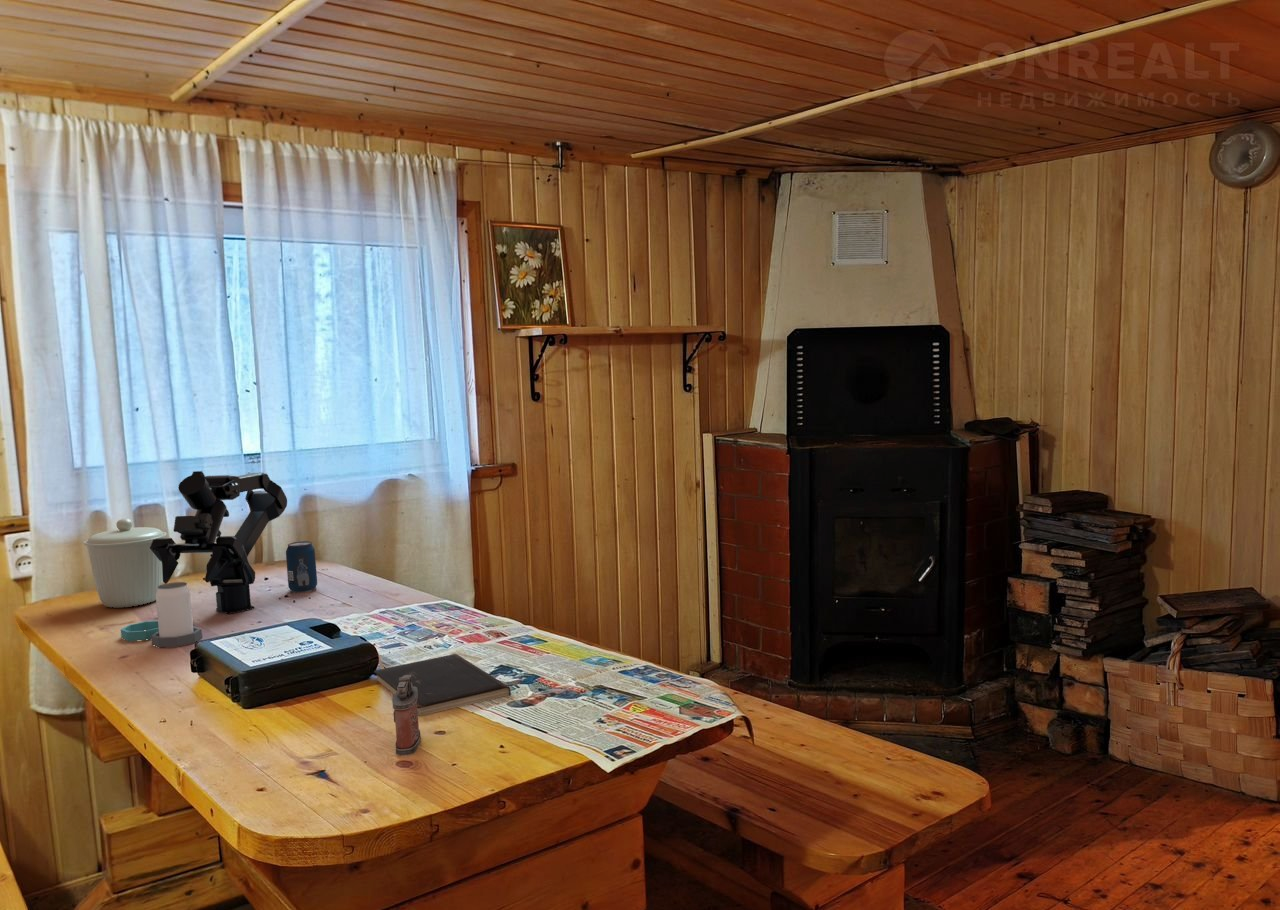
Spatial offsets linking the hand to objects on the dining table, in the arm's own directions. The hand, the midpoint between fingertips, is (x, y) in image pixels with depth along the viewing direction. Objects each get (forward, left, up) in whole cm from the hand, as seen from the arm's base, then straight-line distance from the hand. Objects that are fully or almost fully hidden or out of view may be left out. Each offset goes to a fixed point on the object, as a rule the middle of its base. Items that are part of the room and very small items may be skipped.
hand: (185, 582), depth 211 cm
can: (+4, +3, -12) cm, 13 cm away
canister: (-4, -43, -12) cm, 45 cm away
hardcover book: (-11, +74, -12) cm, 76 cm away
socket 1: (+6, -8, -11) cm, 15 cm away
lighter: (+7, +91, -12) cm, 92 cm away
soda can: (-36, -18, -12) cm, 42 cm away
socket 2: (+4, +3, -11) cm, 13 cm away
